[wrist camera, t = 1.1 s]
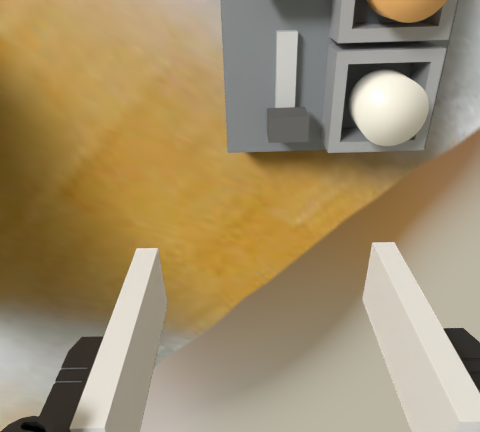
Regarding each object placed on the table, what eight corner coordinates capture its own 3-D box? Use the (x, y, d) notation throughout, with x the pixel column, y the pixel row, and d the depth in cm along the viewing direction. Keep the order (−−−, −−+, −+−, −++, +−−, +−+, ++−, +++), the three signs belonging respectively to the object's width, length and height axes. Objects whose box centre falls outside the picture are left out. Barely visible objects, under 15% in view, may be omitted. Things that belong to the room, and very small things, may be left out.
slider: (266, 131, 31) (268, 142, 28) (266, 108, 30) (268, 118, 28) (303, 130, 30) (308, 141, 28) (304, 106, 30) (309, 117, 28)
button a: (345, 131, 29) (354, 147, 27) (352, 69, 27) (363, 79, 25) (405, 130, 29) (420, 145, 27) (417, 67, 27) (435, 77, 24)
